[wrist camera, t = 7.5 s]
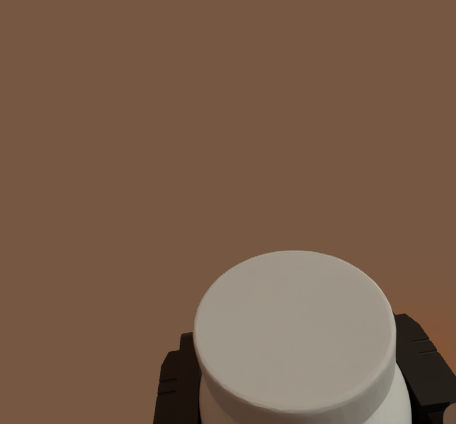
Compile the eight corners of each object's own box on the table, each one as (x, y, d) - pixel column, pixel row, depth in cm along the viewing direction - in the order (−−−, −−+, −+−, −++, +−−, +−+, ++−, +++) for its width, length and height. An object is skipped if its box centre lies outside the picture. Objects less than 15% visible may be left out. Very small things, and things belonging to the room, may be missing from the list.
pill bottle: (233, 426, 15) (179, 255, 11) (357, 406, 15) (360, 223, 10) (246, 618, 10) (153, 464, 6) (430, 594, 10) (503, 409, 5)
